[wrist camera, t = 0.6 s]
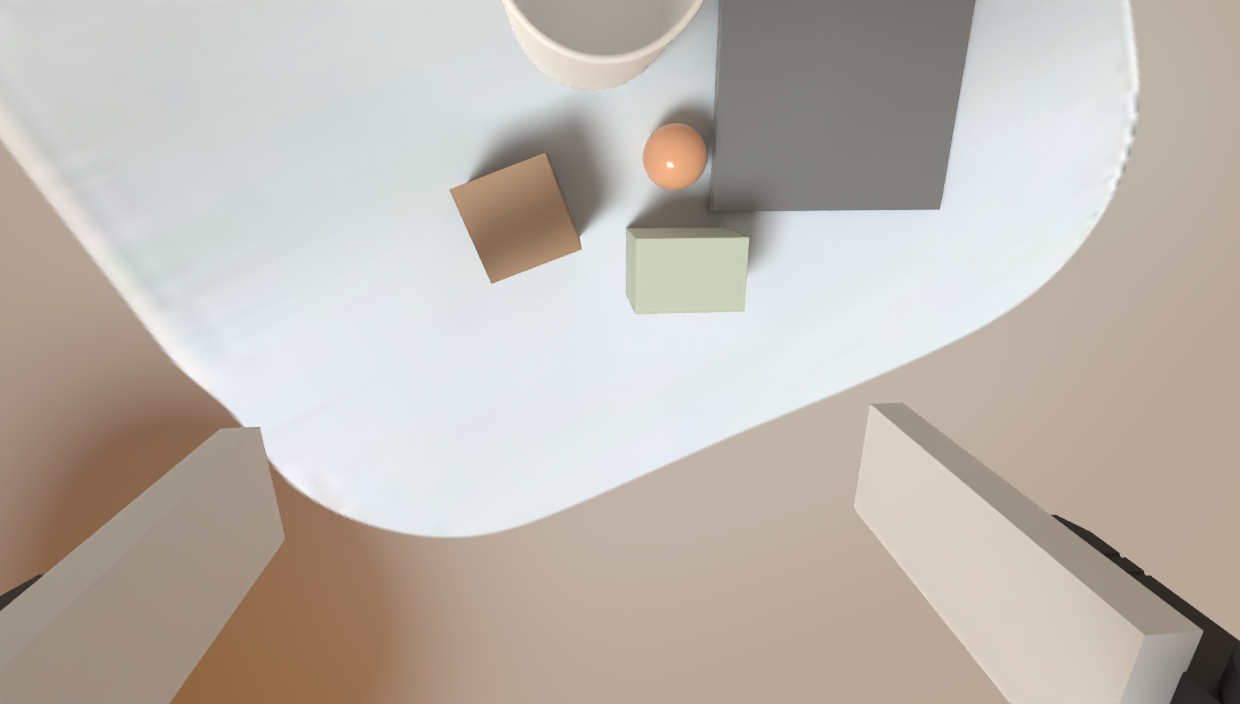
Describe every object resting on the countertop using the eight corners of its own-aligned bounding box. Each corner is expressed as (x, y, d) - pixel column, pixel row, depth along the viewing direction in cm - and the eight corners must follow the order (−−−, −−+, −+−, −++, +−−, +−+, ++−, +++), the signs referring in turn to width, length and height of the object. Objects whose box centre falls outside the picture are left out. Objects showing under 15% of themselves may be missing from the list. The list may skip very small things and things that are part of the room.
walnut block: (465, 185, 33) (449, 189, 29) (547, 153, 33) (544, 152, 28) (501, 266, 35) (491, 283, 30) (579, 236, 35) (581, 249, 30)
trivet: (722, -66, 30) (726, -71, 30) (975, -57, 32) (985, -62, 31) (709, 210, 35) (712, 211, 34) (932, 208, 36) (939, 209, 35)
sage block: (625, 227, 35) (636, 238, 30) (724, 226, 35) (749, 237, 31) (625, 293, 36) (635, 313, 31) (720, 291, 37) (744, 311, 32)
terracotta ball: (639, 124, 33) (648, 121, 30) (700, 125, 33) (715, 121, 30) (638, 188, 34) (647, 192, 31) (698, 188, 34) (712, 191, 31)
